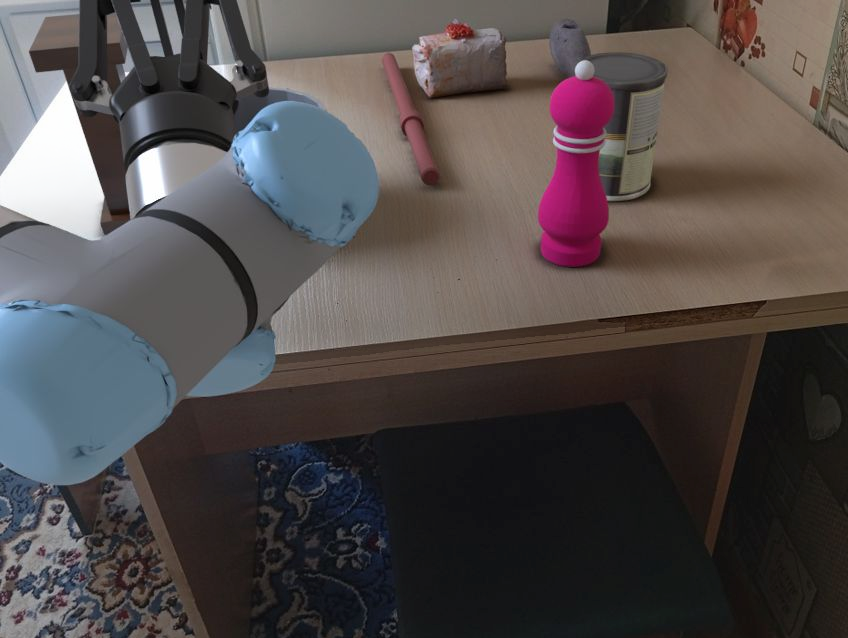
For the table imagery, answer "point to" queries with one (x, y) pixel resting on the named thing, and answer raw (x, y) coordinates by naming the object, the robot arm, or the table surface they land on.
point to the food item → (460, 61)
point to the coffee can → (629, 121)
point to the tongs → (162, 24)
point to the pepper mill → (576, 170)
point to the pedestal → (101, 131)
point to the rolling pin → (411, 122)
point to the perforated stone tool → (567, 45)
